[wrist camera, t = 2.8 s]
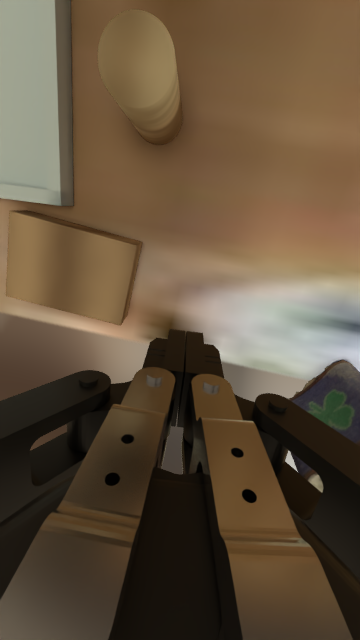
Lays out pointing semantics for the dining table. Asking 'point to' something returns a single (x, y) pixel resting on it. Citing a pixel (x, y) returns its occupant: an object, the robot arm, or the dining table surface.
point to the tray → (36, 101)
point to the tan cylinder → (142, 73)
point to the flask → (331, 407)
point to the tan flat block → (70, 266)
